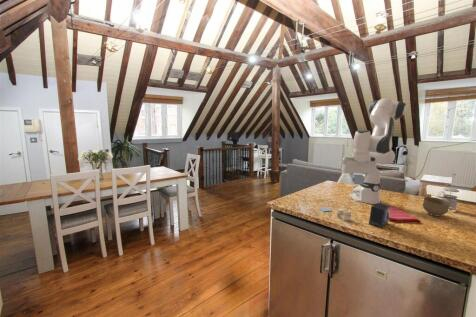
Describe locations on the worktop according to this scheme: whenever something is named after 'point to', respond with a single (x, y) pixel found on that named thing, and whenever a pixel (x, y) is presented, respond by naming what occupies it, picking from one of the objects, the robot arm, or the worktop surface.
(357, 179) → the grey cube
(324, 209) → the tile
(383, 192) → the worktop surface
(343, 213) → the maple block
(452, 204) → the french press
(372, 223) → the small box
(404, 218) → the dish towel
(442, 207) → the bowl
